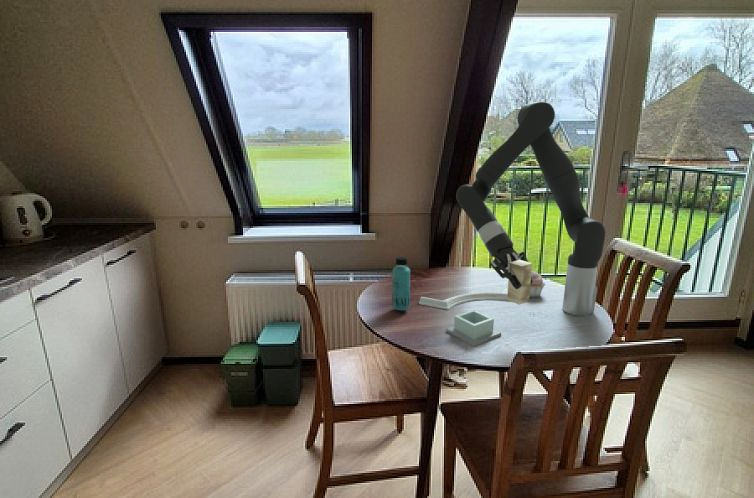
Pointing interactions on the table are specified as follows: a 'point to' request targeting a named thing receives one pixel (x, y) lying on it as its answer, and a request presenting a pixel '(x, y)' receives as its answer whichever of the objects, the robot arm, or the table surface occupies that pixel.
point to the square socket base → (473, 328)
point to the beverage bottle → (401, 285)
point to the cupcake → (536, 285)
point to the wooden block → (524, 277)
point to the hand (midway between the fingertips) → (524, 285)
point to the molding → (463, 299)
